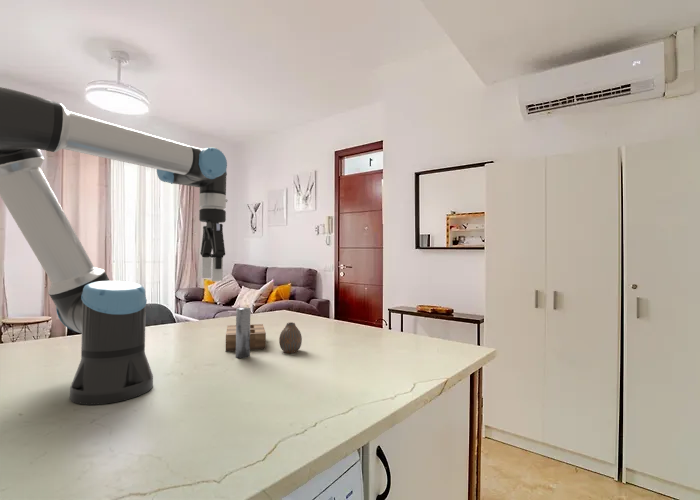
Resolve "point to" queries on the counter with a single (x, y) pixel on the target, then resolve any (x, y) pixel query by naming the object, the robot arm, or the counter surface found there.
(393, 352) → the counter surface
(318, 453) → the counter surface
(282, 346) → the vase
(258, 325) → the bore block
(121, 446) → the counter surface
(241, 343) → the steel pin
